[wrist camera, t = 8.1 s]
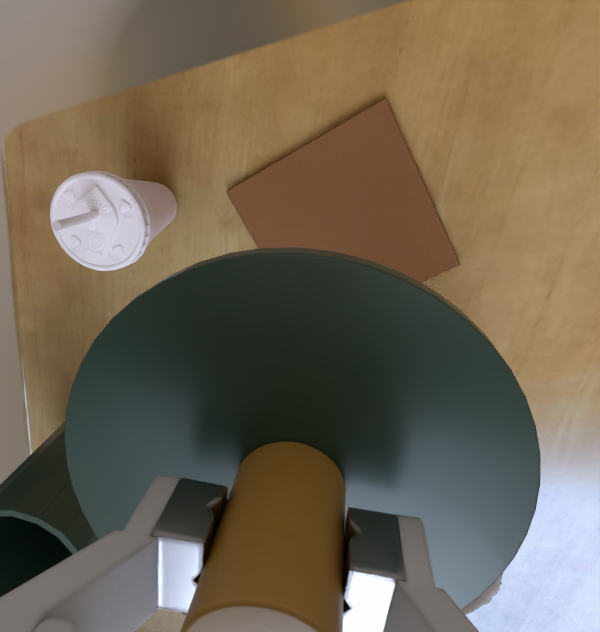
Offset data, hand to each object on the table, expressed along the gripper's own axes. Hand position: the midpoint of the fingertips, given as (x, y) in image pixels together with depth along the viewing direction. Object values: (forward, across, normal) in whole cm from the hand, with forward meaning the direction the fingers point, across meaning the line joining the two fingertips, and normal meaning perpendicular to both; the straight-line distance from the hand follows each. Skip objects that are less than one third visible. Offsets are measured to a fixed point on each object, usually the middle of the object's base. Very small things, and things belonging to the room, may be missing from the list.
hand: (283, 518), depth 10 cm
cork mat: (+30, 0, -2) cm, 30 cm away
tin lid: (+2, 0, 0) cm, 2 cm away
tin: (+30, +20, +24) cm, 43 cm away
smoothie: (+30, +15, -1) cm, 34 cm away
